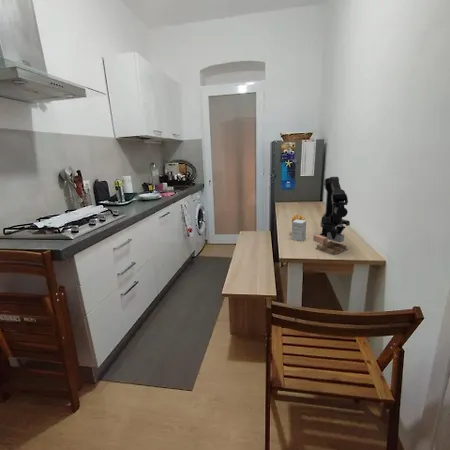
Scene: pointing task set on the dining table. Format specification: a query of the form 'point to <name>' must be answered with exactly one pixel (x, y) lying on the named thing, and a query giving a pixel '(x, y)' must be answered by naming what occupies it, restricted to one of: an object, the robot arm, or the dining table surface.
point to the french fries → (297, 217)
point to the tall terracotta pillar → (320, 239)
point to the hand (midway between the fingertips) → (335, 238)
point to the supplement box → (298, 230)
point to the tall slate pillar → (336, 237)
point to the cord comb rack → (332, 248)
